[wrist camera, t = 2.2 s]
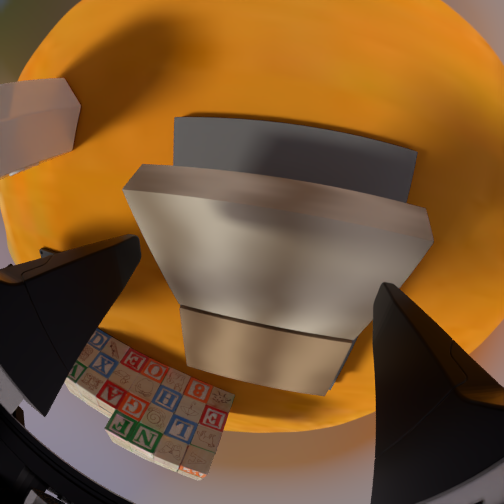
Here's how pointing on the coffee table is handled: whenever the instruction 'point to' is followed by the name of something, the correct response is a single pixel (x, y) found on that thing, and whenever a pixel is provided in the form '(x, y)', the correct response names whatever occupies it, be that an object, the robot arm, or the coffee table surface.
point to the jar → (35, 123)
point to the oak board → (261, 352)
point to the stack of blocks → (151, 405)
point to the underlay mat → (295, 156)
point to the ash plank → (275, 245)
